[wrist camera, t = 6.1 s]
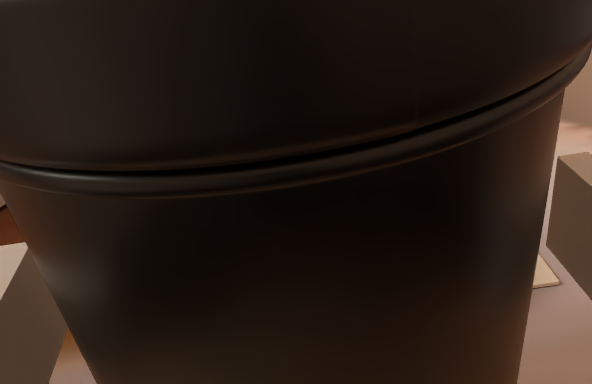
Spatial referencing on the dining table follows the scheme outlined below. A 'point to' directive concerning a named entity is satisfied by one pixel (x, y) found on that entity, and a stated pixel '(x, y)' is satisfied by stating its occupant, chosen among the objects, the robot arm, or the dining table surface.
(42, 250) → the water bottle
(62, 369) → the dining table surface
